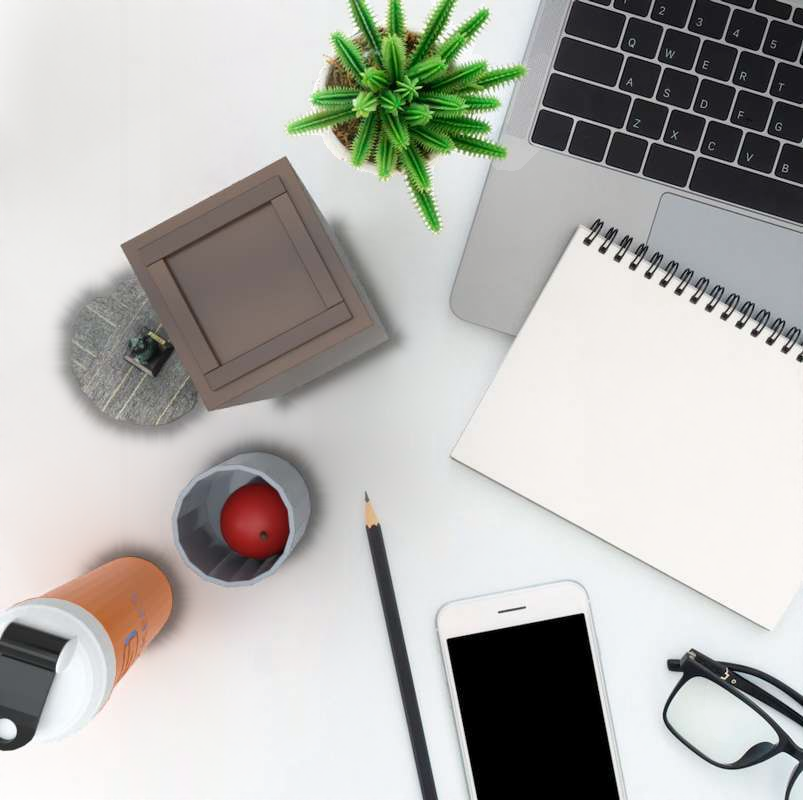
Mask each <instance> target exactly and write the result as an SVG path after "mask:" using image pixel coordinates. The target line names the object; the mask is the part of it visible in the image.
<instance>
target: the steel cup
mask: <svg viewBox="0 0 803 800" xmlns="http://www.w3.org/2000/svg"><path fill="white" fill-rule="evenodd" d="M253 482H267V483H269V484H270V485H271V486H273V487H274V488H275V489H276V490H277V491H278V493H279V494H280V496H281V498H282V500H283V502H284V504H285V506H286V508H287V510H288V517H289V528H290V533H289V537H288V540H287V543H286V546H285V549H284V550H283V551H282V552H280V553H279V554H277V555H275V556H273V557H270V558H266V559H250V558H246V557H243V556H241V555H239V554H237V553H236V552H235V551H233V550H232V549H231V548H230V547H229V546H228V544H227V543H226V542H225V540H224V538H223V535H222V532H221V528H220V514H221V510H222V508H223V505H224V503H225V501H226V500H227V498H228V497H229V496H230V495H231V494H232V493H233V492H234V491H235V490H236V489H238V488H239V487H241V486H243V485H246V484H249V483H253ZM311 503H312V502H311V496H310V491H309V488H308V486H307V483H306V480H304V478H303V476H302V475H301V473H300V472H299V471H298V470H297V469H296V467H294V465H292V464H291V463H290V462H289V461H287V460H285V459H284V458H282V457H280V456H277V455H275V454H272V453H268V452H263V451H259V452H258V451H255V452H246V453H239V454H237V455H235V456H233V457H231V458H229V459H227V460H225V461H222V462H221V463H219V464H217V465H215V466H212V467H211V468H209V469H207V470H205V471H202V472H201V473H199V474H198V475H195V476H194V477H193V478H192V479H191V480H190V482H189V483H187V485H186V486H185V487H184V489H183V490H182V491H181V492H180V494H179V495H178V497H177V500H176V503H175V507H174V509H173V513H172V517H171V526H172V527H171V528H172V537H173V543H174V544H173V545H174V546H175V548H176V550H177V552H178V553H179V555H180V558H181V559H182V561H183V563H184V564H185V566H186V567H188V568H189V569H190V570H191V571H192V572H194V573H195V574H196V575H197V576H198V577H200V578H201V579H202V580H204V581H206V582H208V583H211V584H215V585H218V586H222V587H225V588H238V587H248V586H253V585H256V584H257V583H259V582H261V581H263V580H266V579H267V578H270V577H271V576H272V575H274V574H275V573H276V571H278V569H280V567H281V565H282V564H283V563H284V562H285V561H286V560H287V558H288V557H289V556H290V554H291V553H292V551H293V550H294V548H295V547H296V546H297V544H298V543H299V541H300V540H301V538H302V537H303V536H304V534H305V532H306V530H307V526H308V523H309V522H310V521H309V520H310V517H311V510H312V509H311Z"/></svg>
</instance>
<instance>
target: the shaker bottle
mask: <svg viewBox="0 0 803 800" xmlns="http://www.w3.org/2000/svg"><path fill="white" fill-rule="evenodd" d="M172 608H173V591H172V587H171V585H170V582H169V579H168V578H167V577H166V575H165V574H164V572H163V571H162V570H161V569H160V568H159V567H158V566H157V565H155V564H154V563H152V562H151V561H149V560H147V559H144V558H140V557H137V556H136V557H135V556H125V557H119V558H116V559H113V560H111V561H109V562H106V563H104V564H102V565H100V566H98V567H96V568H94V569H92V570H90V571H88V572H86V573H84V574H82V575H80V576H77V577H76V578H74V579H72V580H70V581H68V582H66V583H64V584H62V585H59V586H58V587H56V588H54V589H52V590H50V591H48V592H45V593H44V594H41V595H39V596H37V597H32V598H27V599H25V600H22V601H20V602H18V603H15V604H13V605H12V606H11V607H8V608H7V609H6V610H4V611H3V612H1V613H0V751H1V752H12V751H16V750H19V749H20V748H23V747H25V746H26V745H27V744H31V745H46V744H51V743H58V742H59V741H60V742H61V741H63V740H65V739H68V738H71V737H72V736H73V735H75V734H77V733H78V732H80V731H81V730H83V729H84V728H85V726H87V725H88V724H89V723H90V722H91V721H92V720H93V719H94V718H95V717H96V716H97V715H98V714H99V713H100V712H101V711H102V710H103V708H104V707H105V705H106V704H107V702H108V701H109V700H110V698H111V695H112V693H113V690H114V689H115V687H116V686H117V685H118V684H119V683H120V681H121V680H123V677H124V676H125V675H126V674H127V673H128V671H129V670H130V669H131V667H132V666H133V665H134V664H135V662H136V661H137V660H138V659H139V657H140V656H141V655H142V654H143V653H144V651H145V650H146V649H147V648H148V646H149V645H150V643H152V641H153V640H154V639H155V637H156V636H157V635H158V634H159V633H160V631H161V630H162V629H163V627H164V626H165V624H166V623H167V622H168V620H169V617H170V616H171V612H172Z"/></svg>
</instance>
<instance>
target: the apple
mask: <svg viewBox="0 0 803 800" xmlns="http://www.w3.org/2000/svg"><path fill="white" fill-rule="evenodd" d="M220 528H221V532H222V535H223V538H224V540H225V542H226V543H227V544H228V546H229V547H230V548H231V549H232V550H233V551H235V552H236V553H237V554H239V555H241V556H243V557H246V558H250V559H266V558H270V557H273V556H275V555H277V554H279V553H280V552H282V551H283V550H284V549H285V546H286V543H287V540H288V537H289V533H290V528H289V517H288V510H287V508H286V506H285V504H284V502H283V500H282V498H281V496H280V494H279V493H278V491H277V490H276V489H275V488H274V487H273V486H271V485H270V484H269V483H267V482H253V483H249V484H246V485H243V486H241V487H239V488H238V489H236V490H235V491H234V492H233V493H232V494H231V495H230V496H229V497H228V498H227V500H226V501H225V503H224V505H223V508H222V510H221V514H220Z"/></svg>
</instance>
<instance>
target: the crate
mask: <svg viewBox="0 0 803 800" xmlns="http://www.w3.org/2000/svg"><path fill="white" fill-rule="evenodd" d="M119 246H120V248H121V250H122V252H123V254H124V255H125V257H126V260H127V261H128V263H129V265H130V267H131V268H132V271H133V272H134V274H135V277H136V278H138V280H139V282H140V284H141V286H142V288H143V289H144V291H145V293H146V295H147V297H148V299H149V301H150V303H151V305H152V306H153V308H154V310H155V312H156V314H157V316H158V318H159V320H160V321H161V323H162V325H163V327H164V329H165V331H166V333H167V335H168V337H169V338H170V340H171V342H172V344H173V346H174V348H175V350H176V352H177V353H178V355H179V357H180V359H181V361H182V363H183V365H184V367H185V369H186V370H187V372H188V374H189V376H190V378H191V380H192V382H193V384H194V385H195V387H196V389H197V391H198V392H197V393H198V395H199V397H200V398H201V400H202V403H203V404H204V407H205V409H206V410H207V412H214V411H218V410H223V409H228V408H232V407H237V406H243V405H246V404H251V403H257V402H262V401H266V400H270V399H274V398H280V397H284V396H286V395H287V394H289V393H291V392H293V391H295V390H297V389H299V388H300V387H303V386H305V385H306V384H308V383H310V382H312V381H314V380H316V379H317V378H320V377H322V376H323V375H325V374H327V373H329V372H331V371H334V369H337V368H338V367H340V366H342V365H344V364H346V363H348V362H350V361H352V360H353V359H355V358H358V357H360V356H361V355H363V354H365V353H367V352H368V351H369V352H370V351H371V350H373V349H375V348H377V347H378V346H380V345H382V344H385V343H386V342H388V341H389V340H390V336H389V335H388V333H387V330H386V329H385V327H384V326H383V324H382V322H381V319H380V317H379V316H378V314H377V312H376V310H375V308H374V306H373V304H372V302H371V301H370V299H369V297H368V295H367V293H366V291H365V289H364V287H363V285H362V283H361V281H360V280H359V278H358V276H357V274H356V272H355V270H354V268H353V266H352V263H351V262H350V260H349V258H348V257H347V254H346V252H345V251H344V249H343V247H342V245H341V243H340V241H339V239H338V237H337V235H336V233H335V232H334V230H333V228H332V227H331V225H330V224H329V222H328V220H327V219H326V217H325V215H324V214H323V212H322V211H321V209H320V208H319V206H318V205H317V203H316V201H315V199H314V198H313V196H312V195H311V193H310V192H309V190H308V189H307V187H306V185H305V184H304V182H303V180H302V179H301V177H300V176H299V175H298V173H297V172H296V170H295V168H294V166H293V164H292V163H291V162H290V159H289V158H288V157H287V156H286V155H285V156H283V157H281V158H279V159H277V160H276V161H274V162H272V163H270V164H268V165H266V166H264V167H262V168H261V169H259V170H257V171H255V172H253V173H251V174H249V175H248V176H246V177H243V178H242V179H240V180H238V181H237V182H234V183H233V184H231V185H229V186H227V187H225V188H223V189H222V190H220V191H217V192H216V193H214V194H212V195H210V196H209V197H207V198H205V199H203V200H201V201H199V202H197V203H196V204H193V205H192V206H190V207H188V208H186V209H184V210H183V211H180V212H179V213H177V214H175V215H173V216H171V217H169V218H168V219H166V220H164V221H162V222H161V223H158V224H156V225H155V226H153V227H151V228H149V229H147V230H145V231H144V232H142V233H140V234H137V235H136V236H134V237H132V238H130V239H129V240H127V241H125V242H123V243H121V244H120V245H119Z"/></svg>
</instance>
